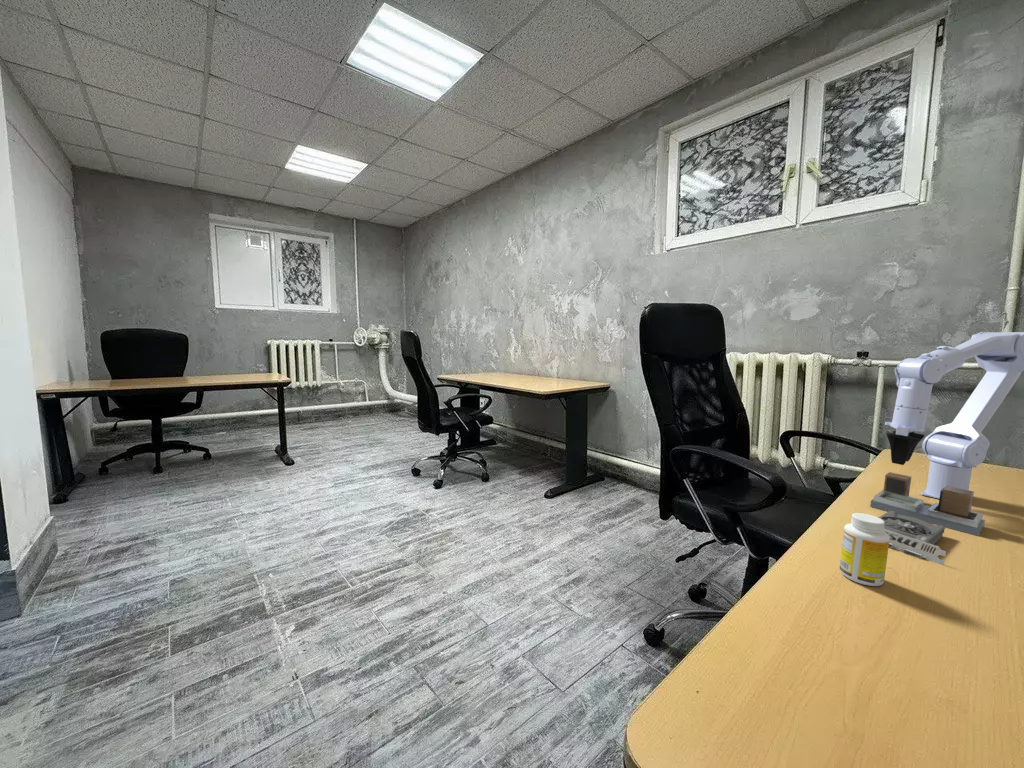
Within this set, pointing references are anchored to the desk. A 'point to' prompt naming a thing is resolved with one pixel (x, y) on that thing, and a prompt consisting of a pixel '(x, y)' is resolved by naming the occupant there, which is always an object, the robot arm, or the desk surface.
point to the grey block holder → (936, 509)
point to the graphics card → (913, 536)
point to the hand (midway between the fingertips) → (900, 462)
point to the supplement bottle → (864, 550)
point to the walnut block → (897, 483)
